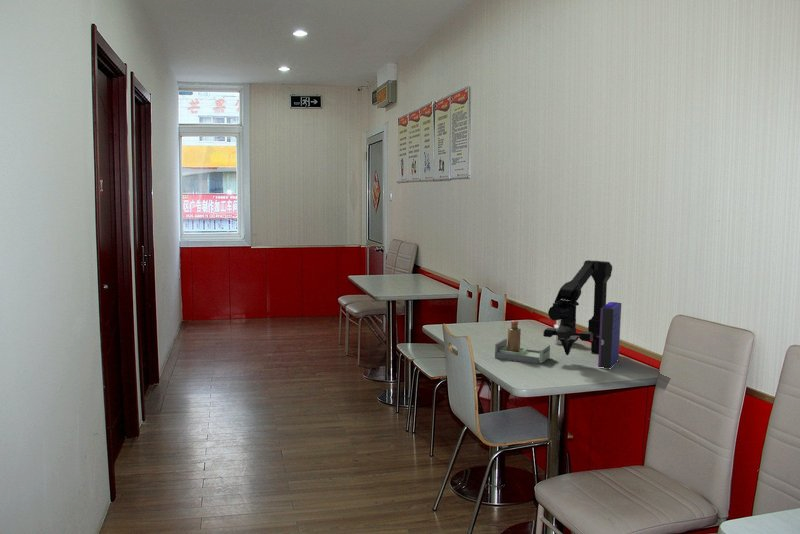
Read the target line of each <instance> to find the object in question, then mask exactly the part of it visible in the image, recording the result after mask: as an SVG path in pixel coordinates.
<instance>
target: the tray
mask: <svg viewBox="0 0 800 534" xmlns="http://www.w3.org/2000/svg"><path fill="white" fill-rule="evenodd" d="M527 349H528V348H525V347H520V352H512V351H507V346H506V347H504V348H502V349H500V350H499V352H501V353H508V354H516V355H524V356H532V357H539V364H543V363H544V362H545V361H546V360H548V359H550V355H551V344H547V345H545V346H544V347H541V348H540V350H539V351H540V353H534V352H527Z"/></svg>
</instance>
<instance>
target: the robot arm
mask: <svg viewBox="0 0 800 534" xmlns="http://www.w3.org/2000/svg"><path fill="white" fill-rule="evenodd" d="M612 271H613V265H612V264H611V262H610V261H603V260H592V259H591V260H590V259H589V260H588V259H587V260H585V261H584V262H583V265H582V266H581V268H580V269H579V270H578V272H577V273H576V274H575V275H574V277H573V278H572V279H571V280H570V281H568V282H565V283H564V284H563V285H562V286H561V287H560V288H559V290H558V292H557V295H556V298H555V300H554V301H553V303H552V306H550V307H549V309H548V310H547V311H548V314H547V315H548V317H549V319H550V320H552V321H554V322H555V321H556V322H557V320H560V319H561V322H560V326H559V328H558V330H556V328H554V327H547V328H546V329H544V330H543V333H542V334H543V335H542V336H543V337H544V338H552V337H554V335H558V340H560V341H561V343H562V344H561V345H562V347H563V350H564V353H565V356H569V354H571V353H570V352H571V350H572V348H573V345H574V344H575V342H577V341H579V340H581V341H584V342H591V343H590V351H591V354H596V353H599V337H600V316H601V308H602V307H603V306H605V305H606V304H607V289H608V286H607V284H608V282H609V280H610V279H611V277H612ZM590 278H592V279H593V282H594V293H593V294H594V295H593V315H592V317H591V318H590V319H589V320H588V321H587V322H588V327H587V330H588V331H587V330H586V331H585V330H583V331H581V332H577V328H576V324H577V323H576V322H577V306H579V305H580V304H579V302H578V300H579V298H580V297H581V295H582V288H583V287H584V285H585V284H586V283H587V281H588V280H590ZM568 339H569V340H568ZM591 340H592V341H591Z"/></svg>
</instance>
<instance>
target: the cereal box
mask: <svg viewBox="0 0 800 534" xmlns="http://www.w3.org/2000/svg"><path fill="white" fill-rule="evenodd" d="M621 316H622V302H617V301H616V302H614V301H608V303H606V305H605V306H603V307H602V308H601V316H600V337H599V354H598V362H597V363H598V364H597V368H598V367H604V368H611V367H612V366H613V365H614V364H615V363H616V362H617V363H618V361H619V360H618V359H620V358H619V356H620V342H621V341H620V340H621V339H620V338H621V319H622V318H621ZM617 360H618V361H617ZM617 363H616V364H617ZM616 364H615V365H616ZM615 365H614V366H615ZM614 366H613V367H614ZM613 367H612V368H613ZM612 368H611V369H612Z"/></svg>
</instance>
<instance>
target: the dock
mask: <svg viewBox="0 0 800 534" xmlns="http://www.w3.org/2000/svg"><path fill="white" fill-rule="evenodd" d="M507 344H508V338H504V339H502V340H500V341H498V342H496V343H495V347H494V359H497V358H499V360H505V359H507V361H512V360H513V362H521V363H527V364H537V365H539V364H540V363H539V357H532V356H524V355H516V354H508V353H501V352H499V350H500V349H502V348H504V347H506V346H507ZM527 352H534V353H540V350H537V349H536V350H535V349H528V348H527Z"/></svg>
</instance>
